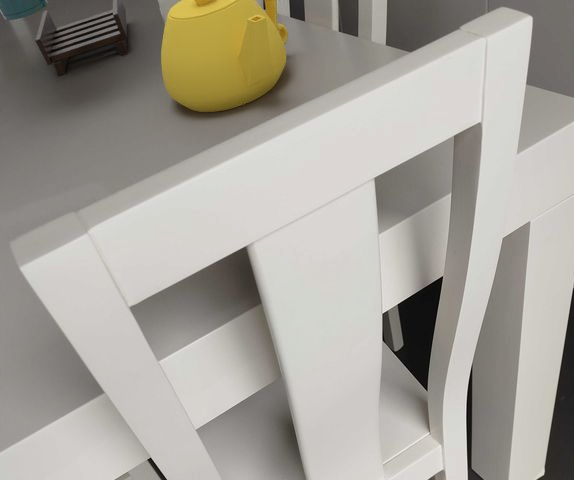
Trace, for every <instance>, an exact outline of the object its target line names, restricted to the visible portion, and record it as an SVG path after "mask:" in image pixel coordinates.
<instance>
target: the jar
mask: <svg viewBox="0 0 574 480" xmlns="http://www.w3.org/2000/svg"><path fill="white" fill-rule="evenodd" d="M180 1H182V0H157V3H158V5H159V12H160V14H161V17H162V21H163V22H164V24H165V23H166V20H167V16H168V13H169V11H170V9H171V8H172V7H173V6H174V5H175V4H177V3H178V2H180Z"/></svg>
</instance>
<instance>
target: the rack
mask: <svg viewBox="0 0 574 480" xmlns="http://www.w3.org/2000/svg"><path fill="white" fill-rule="evenodd" d="M127 26H128V25H127V12H126V8H125V5H124V3H123V0H112V9H110V10H107V11H104V12H101V13H98V14H94V15H92V16H88V17H86V18H82V19H80V20H77V21H74V22H71V23H68V24H65V25H61V26H59V27H56V25H55V23H54V21H53V18H52V16H51V14H50V12H49V10H48V9H46V10H44V11H43V12H42V14H41V19H40V23H39V26H38V30H37V32H36V36H35V43H36V45H37V47H38V49H39V51H40V53H41V55H42V57H43V59H44V61H45V63H46V65H47V66H51V65H53V68H54V69H55V71H56V73H57V75H58V76H63V75H65V74H66V72H67V67H68V59H69V58H72V57H74V56H75V57H76V56H77V55H80V54H84V53H86V52H89V51H92V50H96V49H99V48H102V47H105V46H108V45H111V44H114V43H115V45H116V47H117V49H118V52H119V54H120V56H123V55H127V54H128V38H129V37H128V27H127Z"/></svg>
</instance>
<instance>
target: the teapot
mask: <svg viewBox="0 0 574 480" xmlns="http://www.w3.org/2000/svg"><path fill="white" fill-rule="evenodd" d="M264 4H265V5H264V6H265V10H264V9H263V8H262V7H261V6H260V5H259V3H258V2H257V1H256V0H182V1H180V2H178V3H177V4H175V5H174V6H173V7H172V8H171V9H170V11H169V13H168V16H167V20H166V23H164V30H163V36H162V40H161V41H162V42H161V51H160V63H161V75H162V79H163V83H164V87H165V89H166V92H167V94H168V95H169V96H170V97H171V98H172V100H174V101H175V102H177V103H179V104H180V105H182V106H183V107H185V108H188V109H189V110H190V111H193V112H198V113H200V112H201V113H215V112H216V113H217V112H222V111H227V110H232V109H235V108H238V107H241V106H244V105H247V104H249V103H251V102H253V101H255V100H257V99H259V98H261V97H262V96H264V95H265V94H267V93H269V91H271V90H272V89H273V88H274V87H275V86H276V85H277V84H278V81H279V80H280V78H281V76H282V74H283V71H284V69H285V67H286V64H287V50H286V47H285V45H286V44H287V42H288V40H289V31H288V29H287V27H286V26H285V25H284V24H283V23H278V6H277V5H278V4H277V0H264ZM246 103H247V104H246Z"/></svg>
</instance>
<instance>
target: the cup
mask: <svg viewBox="0 0 574 480" xmlns="http://www.w3.org/2000/svg"><path fill="white" fill-rule="evenodd" d="M48 4H49V2H48V0H0V14H1V15H2V17H3V19H4V20H5V21H15V20H19V19H23V18H25V17H26V18H27V17H29V16H32V15H33V14H35V13H38V12H40V11H41V10H43V9H45V7H47V6H48Z"/></svg>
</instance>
